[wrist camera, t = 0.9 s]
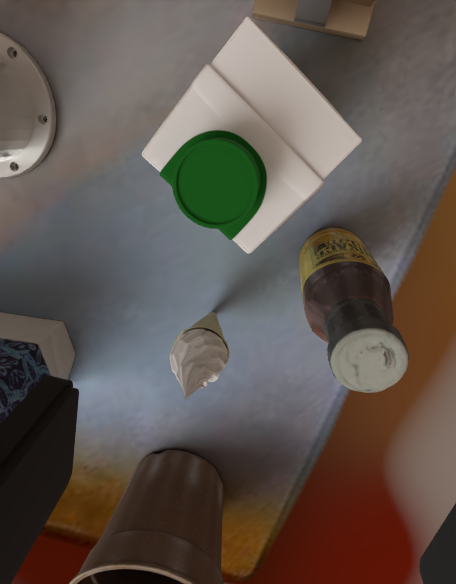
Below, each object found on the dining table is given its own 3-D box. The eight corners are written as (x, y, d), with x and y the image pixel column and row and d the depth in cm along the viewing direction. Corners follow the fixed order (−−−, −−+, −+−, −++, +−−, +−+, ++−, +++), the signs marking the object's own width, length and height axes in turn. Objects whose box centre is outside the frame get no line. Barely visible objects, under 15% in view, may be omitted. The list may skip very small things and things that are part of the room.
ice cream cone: (232, 289, 41) (214, 368, 27) (239, 331, 43) (224, 426, 29) (186, 294, 42) (145, 373, 28) (194, 335, 44) (159, 429, 30)
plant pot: (223, 538, 56) (206, 686, 41) (113, 509, 56) (56, 647, 41) (252, 454, 49) (245, 593, 34) (129, 422, 49) (68, 547, 34)
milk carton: (190, 144, 36) (108, 156, 18) (258, 60, 33) (245, -32, 15) (258, 210, 38) (248, 283, 19) (330, 135, 35) (399, 138, 16)
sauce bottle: (370, 232, 37) (467, 326, 19) (349, 290, 40) (417, 424, 22) (304, 216, 38) (337, 296, 19) (287, 276, 40) (301, 397, 22)
